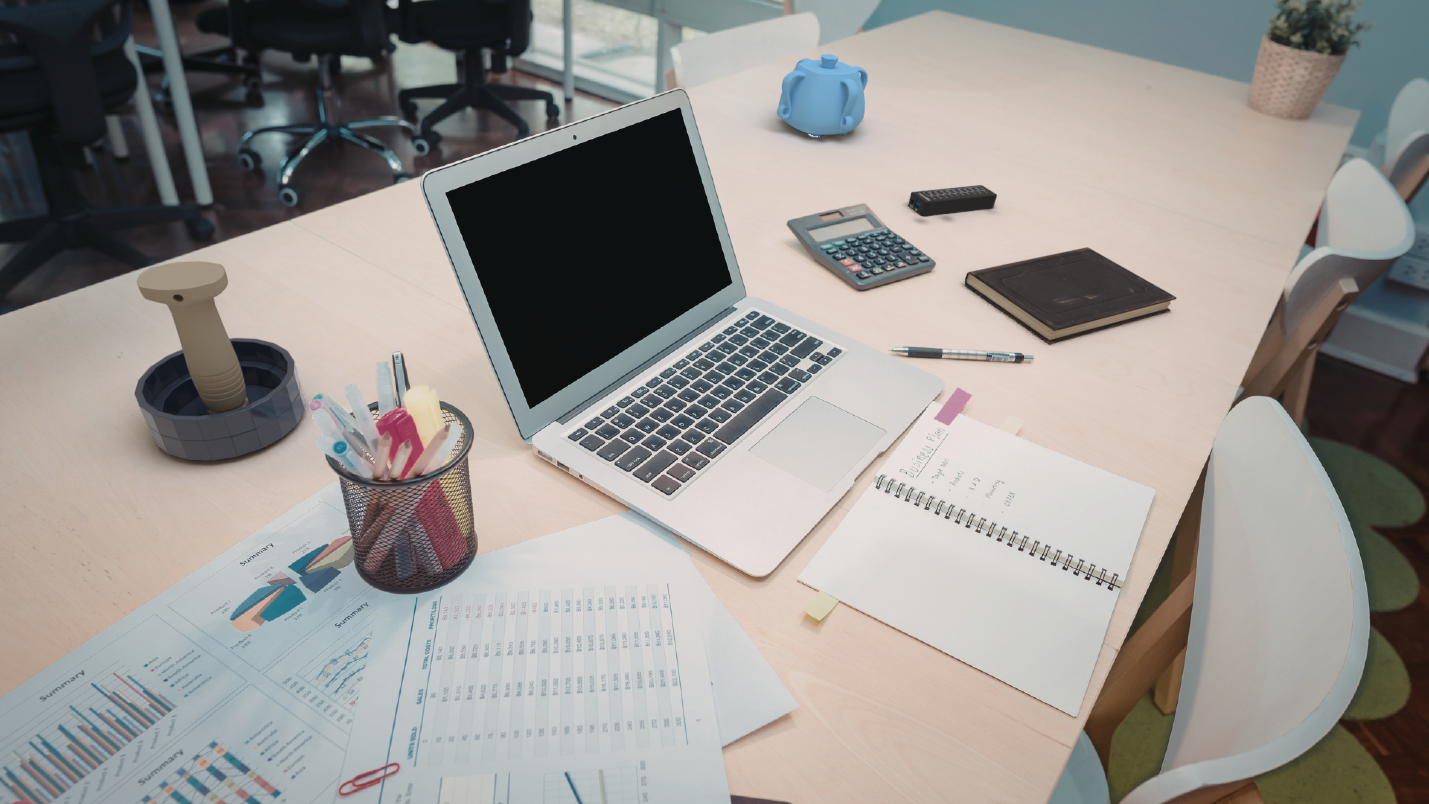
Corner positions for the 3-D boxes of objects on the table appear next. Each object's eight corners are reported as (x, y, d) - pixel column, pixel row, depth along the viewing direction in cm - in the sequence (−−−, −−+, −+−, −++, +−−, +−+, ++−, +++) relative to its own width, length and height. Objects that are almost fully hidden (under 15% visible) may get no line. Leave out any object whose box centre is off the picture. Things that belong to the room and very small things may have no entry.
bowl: (126, 463, 72) (104, 417, 69) (193, 378, 82) (177, 335, 79) (277, 467, 73) (262, 422, 70) (324, 383, 83) (313, 340, 80)
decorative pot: (846, 150, 150) (860, 74, 142) (765, 131, 155) (775, 56, 146) (868, 126, 163) (882, 54, 154) (792, 109, 167) (802, 39, 159)
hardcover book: (1169, 311, 110) (1176, 297, 109) (1049, 344, 101) (1055, 329, 99) (1079, 259, 121) (1084, 245, 120) (962, 284, 112) (967, 269, 110)
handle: (198, 403, 78) (145, 263, 69) (272, 396, 80) (229, 259, 71) (187, 434, 74) (129, 292, 65) (264, 427, 76) (218, 287, 67)
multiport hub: (994, 208, 134) (998, 195, 133) (922, 216, 129) (925, 202, 128) (977, 197, 137) (981, 184, 136) (906, 205, 132) (910, 191, 131)
